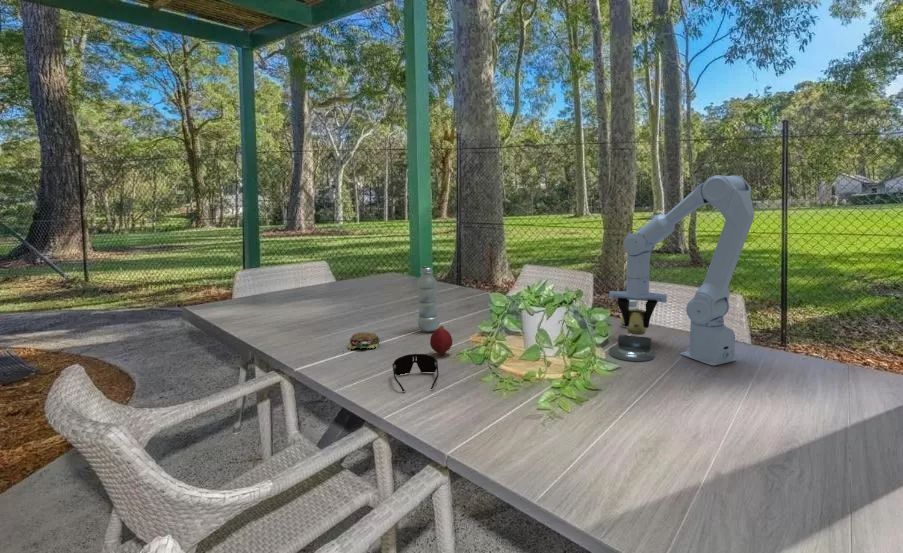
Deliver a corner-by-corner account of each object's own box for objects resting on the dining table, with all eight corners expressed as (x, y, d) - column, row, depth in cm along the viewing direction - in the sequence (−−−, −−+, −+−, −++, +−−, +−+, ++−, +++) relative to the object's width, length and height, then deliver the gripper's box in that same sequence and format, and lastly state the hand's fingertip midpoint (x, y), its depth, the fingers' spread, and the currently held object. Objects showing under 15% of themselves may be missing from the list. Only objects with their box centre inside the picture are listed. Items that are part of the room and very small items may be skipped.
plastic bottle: (414, 333, 150) (411, 268, 147) (424, 327, 156) (421, 265, 153) (433, 334, 148) (431, 269, 144) (442, 328, 154) (440, 265, 150)
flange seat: (613, 345, 132) (613, 333, 131) (657, 350, 127) (657, 338, 126) (604, 358, 123) (605, 345, 122) (651, 364, 117) (652, 351, 117)
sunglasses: (437, 371, 118) (436, 352, 116) (442, 397, 106) (441, 376, 105) (393, 374, 116) (392, 355, 115) (393, 401, 105) (392, 380, 104)
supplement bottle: (635, 324, 152) (636, 298, 150) (640, 328, 147) (640, 301, 146) (619, 324, 152) (620, 298, 151) (623, 328, 148) (624, 301, 146)
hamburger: (339, 342, 144) (338, 323, 143) (387, 340, 145) (386, 321, 144) (329, 358, 130) (328, 336, 129) (382, 356, 131) (381, 334, 130)
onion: (436, 359, 125) (435, 329, 124) (427, 353, 130) (425, 324, 129) (456, 355, 128) (455, 326, 127) (446, 349, 133) (445, 321, 132)
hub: (649, 333, 134) (650, 311, 133) (636, 335, 132) (637, 313, 131) (636, 329, 138) (637, 308, 137) (624, 331, 136) (624, 310, 135)
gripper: (668, 276, 132) (666, 324, 135) (613, 273, 139) (612, 320, 141) (665, 280, 126) (664, 331, 128) (608, 277, 133) (607, 326, 135)
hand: (636, 326), depth 135 cm, fingers closed on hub, 5 cm apart
